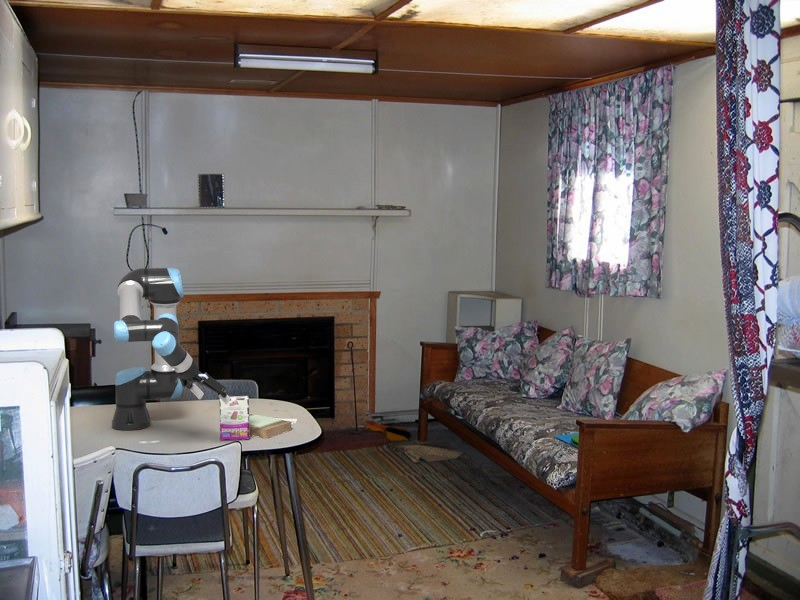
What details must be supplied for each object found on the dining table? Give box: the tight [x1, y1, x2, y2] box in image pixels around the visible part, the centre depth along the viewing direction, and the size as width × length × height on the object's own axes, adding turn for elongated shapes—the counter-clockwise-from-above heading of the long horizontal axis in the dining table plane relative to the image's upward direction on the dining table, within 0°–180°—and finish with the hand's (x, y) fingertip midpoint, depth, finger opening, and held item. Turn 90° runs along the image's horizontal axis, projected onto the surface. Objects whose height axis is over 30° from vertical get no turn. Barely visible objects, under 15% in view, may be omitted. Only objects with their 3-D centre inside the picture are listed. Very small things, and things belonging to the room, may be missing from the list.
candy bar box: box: [219, 395, 251, 442], centre depth 327 cm, size 11×5×16 cm, turn 99°
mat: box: [249, 414, 283, 428], centre depth 340 cm, size 14×13×1 cm
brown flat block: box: [249, 413, 292, 439], centre depth 341 cm, size 22×15×4 cm
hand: (214, 398), depth 317 cm, fingers open, 13 cm apart
